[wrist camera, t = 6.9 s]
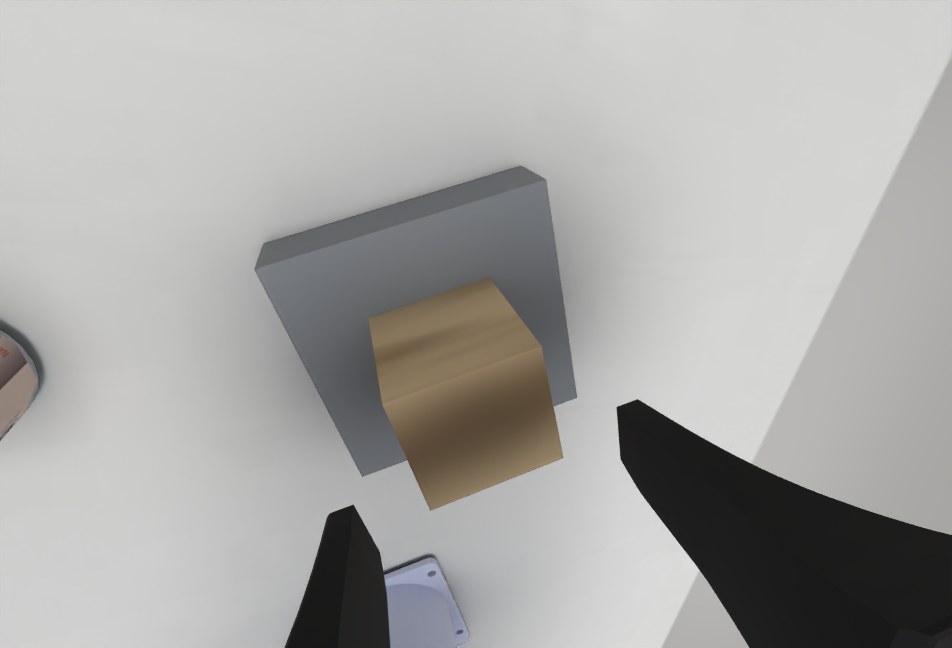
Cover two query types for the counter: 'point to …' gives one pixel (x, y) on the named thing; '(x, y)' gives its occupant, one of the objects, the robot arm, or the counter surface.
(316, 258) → the charcoal base
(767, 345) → the counter surface
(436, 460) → the oak block
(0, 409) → the beer can
